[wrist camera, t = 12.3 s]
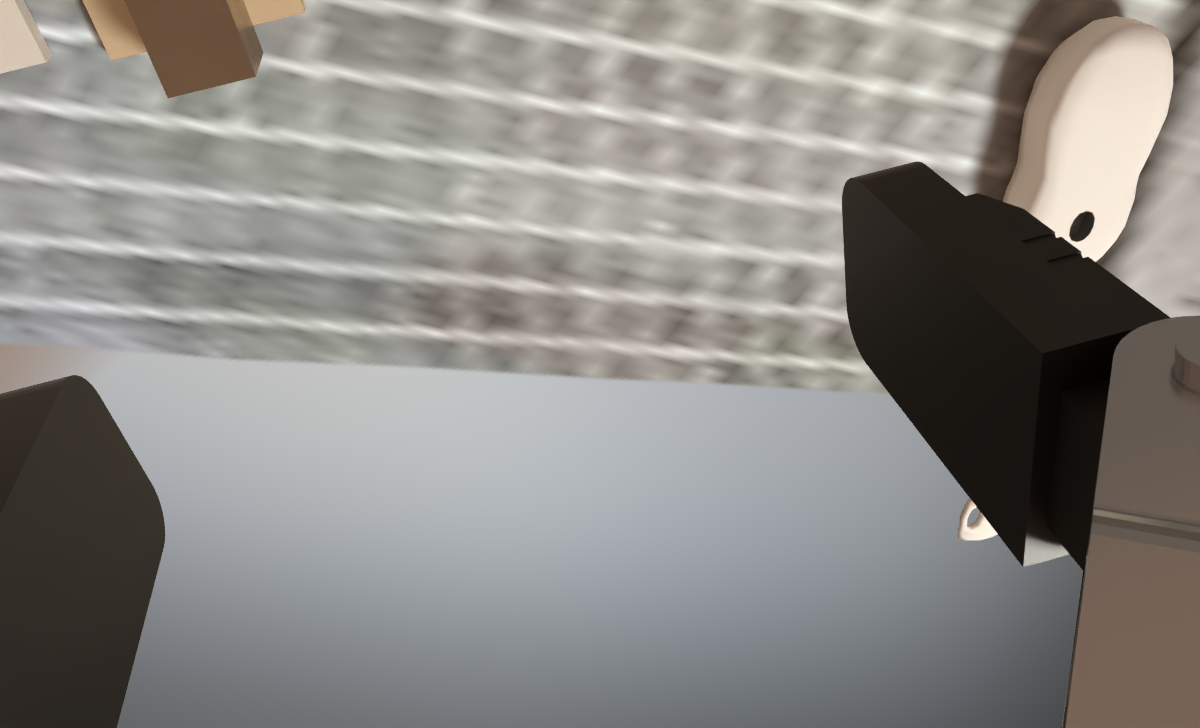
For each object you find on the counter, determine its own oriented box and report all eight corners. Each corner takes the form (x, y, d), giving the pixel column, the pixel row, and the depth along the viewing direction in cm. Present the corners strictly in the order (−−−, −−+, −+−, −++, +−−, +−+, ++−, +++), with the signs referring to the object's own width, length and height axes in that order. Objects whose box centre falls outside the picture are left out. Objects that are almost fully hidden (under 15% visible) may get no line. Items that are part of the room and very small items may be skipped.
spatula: (998, 503, 58) (1026, 536, 55) (909, 514, 57) (933, 548, 54) (1158, 8, 43) (1204, 25, 40) (1039, 11, 42) (1080, 28, 39)
